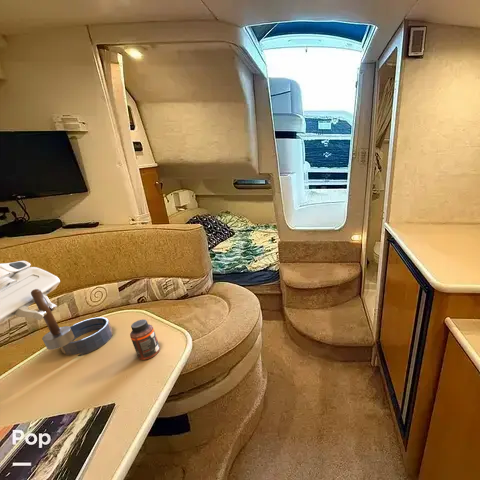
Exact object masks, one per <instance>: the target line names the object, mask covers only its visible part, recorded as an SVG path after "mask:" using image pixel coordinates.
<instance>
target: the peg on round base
mask: <svg viewBox="0 0 480 480" xmlns="http://www.w3.org/2000/svg"><path fill="white" fill-rule="evenodd" d="M31 295H32V297H33V299H34V301H35V302H34V304H35V305H36V308H37V309H38V310H40V309H41V310H43V311H46V312H47V314H46V316H45V317H44V318H43V321H44V322H45V324H46V326H47V329H48V330H49V331H48V332H46V333H45V334H44V335H43V336H42V338H41V339H42V342H43V343H44V345H45V347H46V349H47V350H50V351H52V350H58V349H60V347H63V346H65V345H67V344H68V343H70V342H71V341H72V340H73V339H74V334H73V332H72V330H71V328H70V327H71V326H67V325H65V326H59V324H58V322H57V320H56V318H55V316H54V314H53V311H52V312H51V310H50V308H49V306H48V304H47V302H46V300H45V298H44V296H43V294H42V292H41V290H39V289H34V290H32V291H31ZM74 340H75V339H74ZM74 340H73V341H74ZM73 341H72V342H73Z"/></svg>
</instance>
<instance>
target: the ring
mask: <svg viewBox="0 0 480 480" xmlns="http://www.w3.org/2000/svg"><path fill="white" fill-rule="evenodd" d="M69 327H70V328H71V330H72V332H73V334H74V339H73V340H72V341H71V342H70V343H68V344H67V345H65V346H63V347H60V348H59V349H60V351H61V353H62V354H64V355H66V356H74V355H77V357H80V356H85V355H87V354H89V353H92V352H94V351H96V350H98V349H100V348H101V347H103V346H104V345H106V344H107V343H108V342H109V340H111V338H112V337H113V336H114V333H113V328H112V325H111V322H110V320H109V319H108V318H107V317H104V316H97V317H92V318H87V319H85V320H82V321H79V322H76V323H74V324H73V325H71V326H69ZM93 331H96V332H95V333H92V334H91V335H89V336H87V337H84V338H82V339H78V340H76V339H77V338H79V337H81V336H83V335H85V334H88V333H91V332H93Z"/></svg>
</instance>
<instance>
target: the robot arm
mask: <svg viewBox="0 0 480 480" xmlns="http://www.w3.org/2000/svg"><path fill="white" fill-rule="evenodd" d="M31 265H32V264H31V262H29V261H26V260H18V261H13V262H4V263H0V326H1V325H2V324H4V323H6V322H7V321H8V320H10V319H11V318H13V317H15V316H17V317H19V318H32V319H35V320H37V321H41V320H42V319H44V317H45V316H46V314H47V312H46V311H43V310H41V309H40V310H39V309H38V310H35V309H29V307H30V306H32V305H33V304H35V301H34V299H33V297H32V295H31V291H32V290H34V289H39V290H41V292H42V294H43V296H44V298H45V300H46V302H47V304H48V306H49V308H50V310H51V312H52V313H53V311H55V310H56V309H57V308H58V305H57V304H55V303H54V302H51V300H50V298H49V297H48V294H50V293H51V292H53V291H54V290H56V289H57V288H58V286H59V285H60V283H61V280H60V278H59V277H58V276H57V275H56V274H53V273H51V272H49V271H47V270H45V269H43V268H40V267H36V266H31Z"/></svg>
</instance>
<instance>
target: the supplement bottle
mask: <svg viewBox="0 0 480 480" xmlns="http://www.w3.org/2000/svg"><path fill="white" fill-rule="evenodd" d="M130 328H131V331H130V334H129V337H130V340H131V342H132V346H133V348H134V351H135V353H136V356H137V358H138V359H139V360H141V361H146V360H149V359H152V358H153V357H155V356H156V355H157V354H158V353H159V352H160V350H161V347H160V344H159V341H158V338H157V335H156V332H155V329H154V326H153V325H152V324H149V323H148V321H147V320H146V319H144V318H143V319H138V320H136V321H134V322H133V323H131V325H130Z"/></svg>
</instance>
